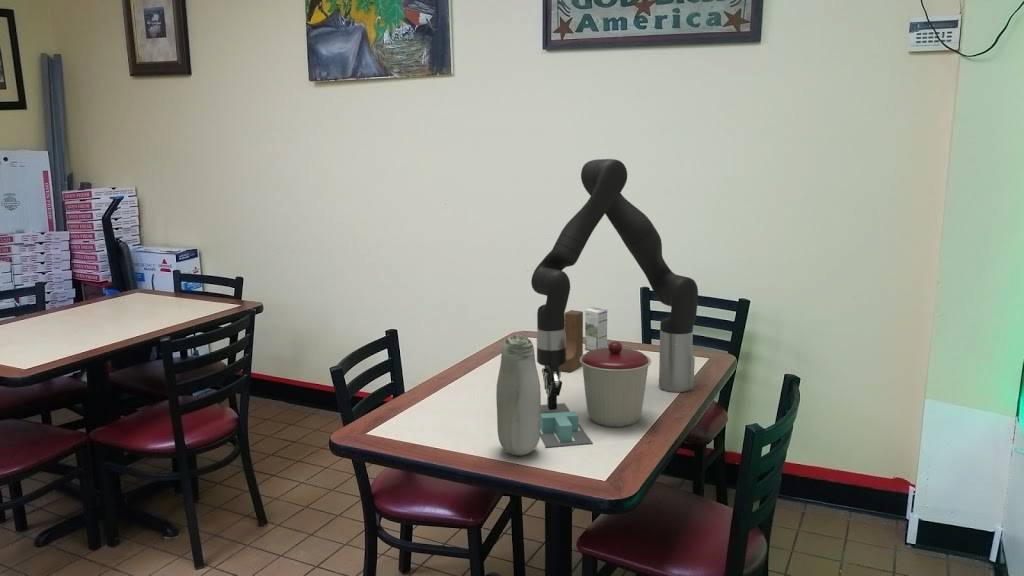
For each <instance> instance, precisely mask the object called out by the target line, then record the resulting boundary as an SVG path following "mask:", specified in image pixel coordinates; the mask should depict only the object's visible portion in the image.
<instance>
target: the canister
mask: <svg viewBox="0 0 1024 576" xmlns="http://www.w3.org/2000/svg"><path fill="white" fill-rule="evenodd" d="M621 343H622V342H621ZM621 343H620V342H619V341H616V340H615V341H610V343H608V344H607V348H599V349H594V350H591V351H590V350H588V351H587V352H586V353H583V355H582V356H581V357H580V363H581V364H582V366H581V367H582V373H583V374H582V376H583V384H584V395H585V402H586V403H585V404H586V408H587V413H588V416H589V418H590V420H592V421H593V422H594V423H596V424H597V425H600V426H604V427H610V428H612V427H613V428H622V427H628V426H631V425H634V424H635V423H637V422H638V420H639V419H640V418H641V415H642V411H643V407H644V405H643V404H644V399H645V391H646V385H647V377H648V369H649V366H651V363H652V360H651V358H650V357H649V356H647V355H646V354H644V353H643V352H641V351H639V350H635V349H632V348H627V347H623V344H621Z"/></svg>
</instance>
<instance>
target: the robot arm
mask: <svg viewBox="0 0 1024 576" xmlns="http://www.w3.org/2000/svg"><path fill="white" fill-rule="evenodd" d="M580 171H581V173H580V179H581V183H582V185H583V188H584V189H585V191H586V192H587V193H588V195H589V198H588V199H587V201H586V203H584V205H583V206H582V207H581V209H580V210H578V211H577V213H576V214H575V215H573V216H572V218H570V220H569V221H568V222H567V223H566V224H565V226H564V227H563V228H562V230H561V231H560V234H559V236H558V237H557V239H556V241H555V243H554V246H553V247H552V249H551V250H550V251H549V252H548V253H547V255H545V257H544V258H543V259H542V260H541V261H540V263H539V264H538V265H537V266H536V268H535V269H534V271H533V273H532V276H531V282H530V283H531V288H532V289H533V291H534V292H535V293H537V294H539V295H543V296H546V300H545V301H546V302H545V304H542V305H540V306H538V309H537V312H536V313H537V316H536V317H537V318H536V321H537V323H536V325H537V328H536V329H537V331H536V361H537V364H538V365H541V366H543V367H544V368H542V369H541V372H542V373H541V374H542V378H543V385H544V387H543V389H544V390H545V393H546V395H547V398H546V399H547V404H546V405H547V406H548V408H549V410H555V409H557V404H558V396H560V394H561V390H562V385H563V382H562V380H561V376H562V375H561V374H562V373H561V372H562V371H559V368H558V367H559V366H560V365H563V364H564V363H565V362H566V334H565V313H566V309H567V304H568V301H569V296H570V292H571V280H570V278H569V276H568V274H567V272H565V271H563V270H564V269H565V268H567V267H572V266H575V265H576V263H577V262H578V260H579V258H580V257H581V254H582V252H583V250H584V248H585V246H586V245H587V243H588V240H589V239H590V237H591V235H592V233H593V232H594V230H595V229H596V228H597V226H598V224H599V223H600V221H601V220H602V218H604V216H605V215H606V216H605V217H606V218H607V219H608V220H609V222H610V223H611V225H612V226H613V228H614V229H615V231H616V232H617V234H618V236H619V237H620V239H621V240H622V242H623V243H624V245H625V247H626V248H627V249H628V251H629V253H630V254H631V255H632V256H633V258H634V260H635V261H636V263H637V264H638V266H639V267H640V269H641V270H642V273H644V275H645V278H646V279H647V281H648V283H649V285H650V288H651V289H652V292H653V293H654V295H655V297H656V298H657V300H658V301H659V302H660V303H661V304H663V305H665V306H668V307H671V310H670V316H669V317H664V318H663V319H661V321H660V324H659V325H660V326H659V360H658V361H659V363H658V364H659V367H658V368H659V369H658V370H659V371H658V388H660V389H661V390H662V391H665V392H672V393H681V392H682V393H683V392H688V391H690V390H695V389H694V388H695V362H696V360H695V359H696V358H695V357H694V356H693V341H694V340H693V337H694V336H693V335H694V334H693V333H694V332H693V331H694V325H695V322H696V321H697V320H696V319H697V312H698V301H699V291H698V290H699V288H698V285H697V283H696V281H695V280H694V279H693V278H691V277H687V276H683V275H679V274H676V273H674V272H673V271H672V270H671V269H670V267H669V266H668V264H667V263H666V261H665V259H664V257H663V246H662V245H663V243H662V238H661V236H660V234H659V232H658V231H657V228H656V227H655V225H654V224H653V223H652V221H651V220H650V219H649V217H648V216H647V215H646V214H645V213H644V212H643V211H641V210H640V209H639V208H638V207H637V206H635V205H634V204H632V203H631V202H630V201H628V199H627V198H625V196H623V194H622V193H621V192H622V191H623V189H624V188H625V186H626V184H627V182H628V181H627V180H628V169H627V168H626V165H625V164H624V163H623V162H622V161H621V160H618V159H615V158H606V159H605V158H603V159H599V158H598V159H597V158H596V159H592V160H590V161H589V160H588V161H587V162H586V163H584V165H583V166H582V168H581V170H580Z"/></svg>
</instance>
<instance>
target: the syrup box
mask: <svg viewBox="0 0 1024 576" xmlns="http://www.w3.org/2000/svg"><path fill="white" fill-rule="evenodd" d="M584 330H585V331H584V334H585V335H584V338H585V339H584V340H585V341H584V342H585V343H584V347H585V348H584V350H585V351H591V350H594V349H599V348H607V347H608V309H607V308H601V307H596V306H593V307H589V308H585V310H584Z"/></svg>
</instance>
